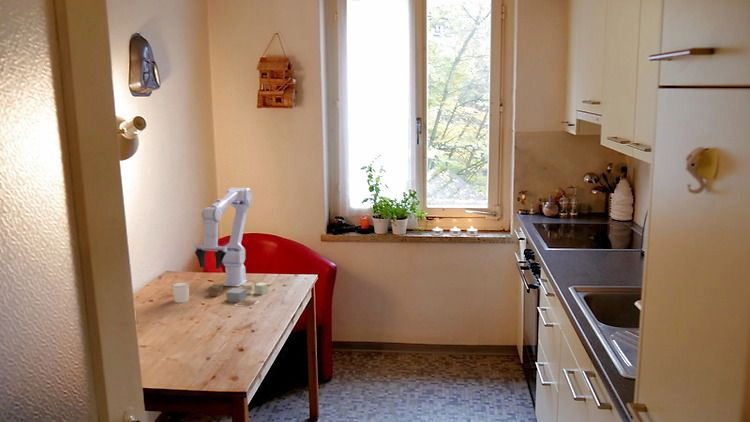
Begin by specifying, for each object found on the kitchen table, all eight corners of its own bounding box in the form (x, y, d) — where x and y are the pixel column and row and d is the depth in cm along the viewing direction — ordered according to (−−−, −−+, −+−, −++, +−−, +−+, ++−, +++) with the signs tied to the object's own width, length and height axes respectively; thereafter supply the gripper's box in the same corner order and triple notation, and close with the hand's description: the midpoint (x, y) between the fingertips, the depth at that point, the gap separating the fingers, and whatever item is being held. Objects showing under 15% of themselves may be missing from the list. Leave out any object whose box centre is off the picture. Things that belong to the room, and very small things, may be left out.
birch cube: (244, 291, 290) (243, 282, 290) (253, 291, 290) (253, 282, 289) (242, 294, 286) (241, 285, 286) (251, 294, 286) (251, 285, 286)
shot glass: (179, 304, 274) (178, 287, 273) (169, 301, 278) (168, 285, 277) (193, 299, 279) (192, 283, 278) (183, 296, 283) (182, 281, 282)
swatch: (243, 300, 278) (243, 298, 277) (259, 301, 275) (259, 300, 275) (235, 305, 271) (235, 304, 271) (251, 307, 269) (251, 305, 269)
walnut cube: (214, 293, 289) (214, 284, 288) (222, 293, 287) (222, 284, 287) (209, 295, 285) (209, 286, 284) (218, 296, 284) (217, 287, 283)
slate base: (234, 297, 283) (233, 288, 282) (246, 298, 281) (246, 289, 280) (226, 301, 277) (226, 292, 276) (239, 302, 275) (239, 293, 274)
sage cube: (260, 291, 290) (260, 282, 289) (268, 292, 288) (267, 283, 288) (255, 293, 287) (254, 284, 286) (262, 294, 285) (262, 285, 284)
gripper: (190, 235, 278) (189, 267, 279) (221, 237, 274) (220, 269, 274) (199, 234, 285) (198, 266, 285) (229, 236, 281) (229, 268, 281)
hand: (210, 268), depth 280 cm, fingers open, 7 cm apart
